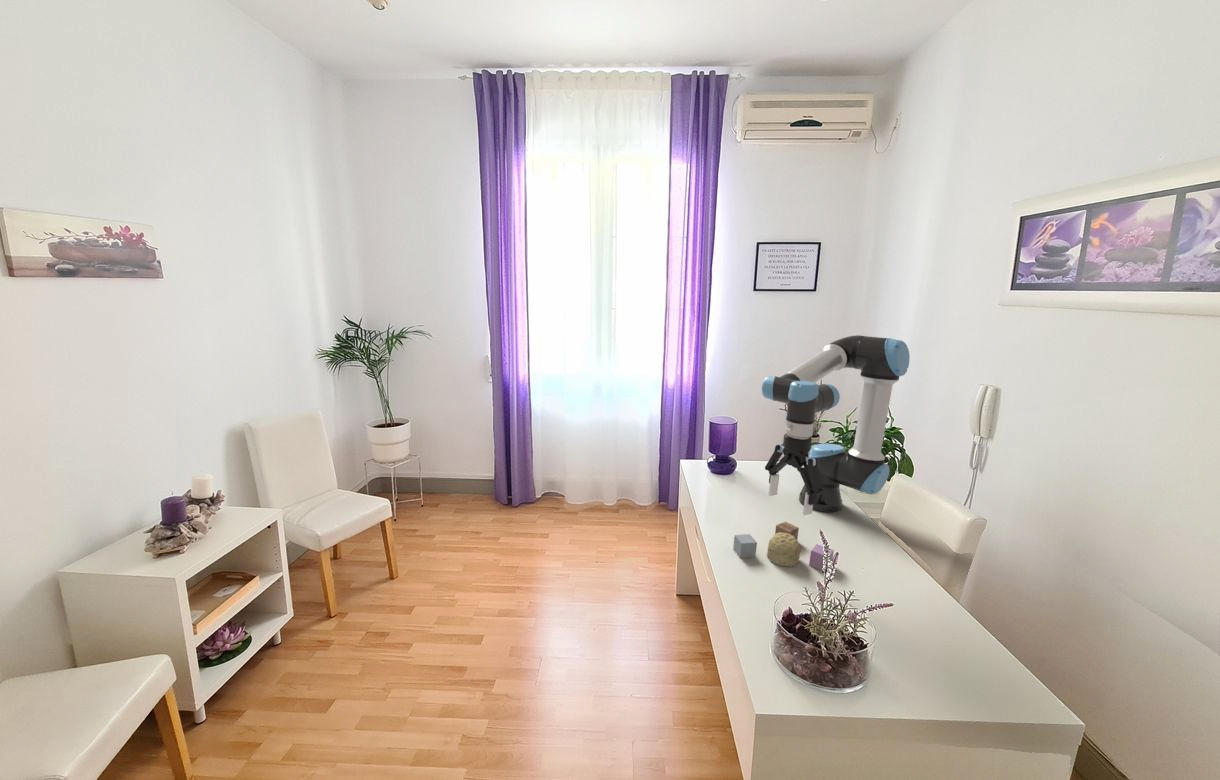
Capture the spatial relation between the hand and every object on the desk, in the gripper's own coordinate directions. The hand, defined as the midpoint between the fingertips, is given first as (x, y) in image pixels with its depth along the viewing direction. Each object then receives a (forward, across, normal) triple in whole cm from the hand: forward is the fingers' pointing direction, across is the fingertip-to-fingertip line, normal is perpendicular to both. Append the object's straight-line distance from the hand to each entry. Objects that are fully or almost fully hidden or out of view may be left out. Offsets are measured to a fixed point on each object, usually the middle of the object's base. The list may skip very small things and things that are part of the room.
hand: (789, 504), depth 146 cm
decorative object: (+18, 0, 0) cm, 18 cm away
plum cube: (+18, +7, +8) cm, 21 cm away
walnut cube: (+18, -8, +9) cm, 22 cm away
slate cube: (+18, -7, -9) cm, 21 cm away
